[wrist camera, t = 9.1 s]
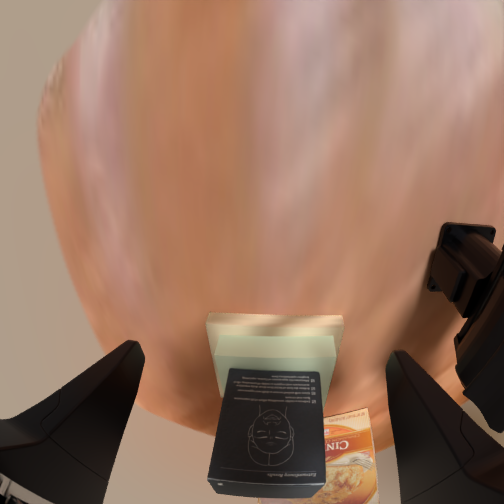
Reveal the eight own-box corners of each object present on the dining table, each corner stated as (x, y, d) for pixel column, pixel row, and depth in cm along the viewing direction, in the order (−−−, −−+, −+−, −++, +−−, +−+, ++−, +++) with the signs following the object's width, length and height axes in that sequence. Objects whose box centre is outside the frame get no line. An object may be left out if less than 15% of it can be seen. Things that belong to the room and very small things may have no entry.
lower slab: (340, 309, 25) (344, 327, 22) (323, 384, 30) (324, 401, 28) (211, 305, 26) (205, 323, 24) (224, 381, 32) (220, 397, 29)
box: (232, 399, 25) (214, 494, 16) (229, 365, 22) (204, 478, 13) (311, 403, 24) (312, 500, 15) (321, 369, 22) (327, 485, 12)
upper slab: (333, 335, 23) (336, 356, 21) (321, 396, 28) (322, 414, 25) (219, 334, 24) (214, 355, 22) (232, 395, 29) (228, 412, 27)
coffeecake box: (367, 406, 31) (381, 537, 14) (371, 425, 34) (381, 536, 17) (263, 425, 35) (249, 546, 18) (279, 442, 38) (270, 547, 21)
